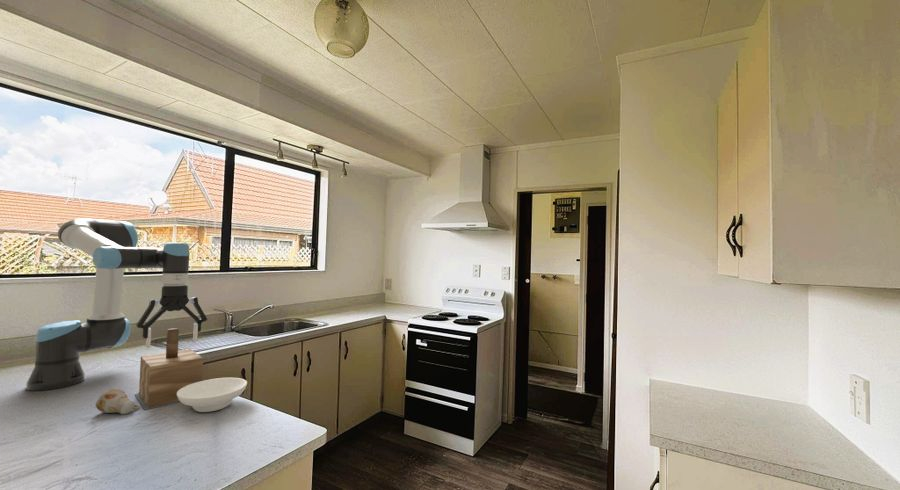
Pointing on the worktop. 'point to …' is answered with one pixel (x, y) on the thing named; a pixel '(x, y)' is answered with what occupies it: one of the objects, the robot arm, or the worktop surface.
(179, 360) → the wooden block with knob
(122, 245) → the robot arm
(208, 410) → the bowl
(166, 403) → the mat
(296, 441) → the worktop surface
